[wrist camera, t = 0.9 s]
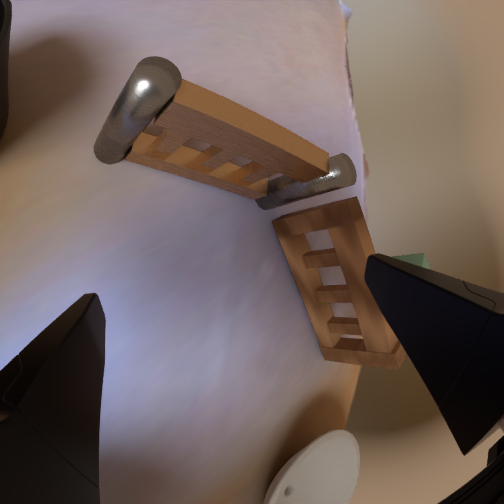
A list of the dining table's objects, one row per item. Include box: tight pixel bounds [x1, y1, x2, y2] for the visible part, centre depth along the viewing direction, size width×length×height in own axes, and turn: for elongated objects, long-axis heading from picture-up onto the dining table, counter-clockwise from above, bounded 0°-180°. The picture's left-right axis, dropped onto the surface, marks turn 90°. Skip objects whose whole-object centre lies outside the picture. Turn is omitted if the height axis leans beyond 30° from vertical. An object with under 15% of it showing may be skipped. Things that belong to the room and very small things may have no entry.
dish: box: [263, 429, 360, 504], centre depth 23 cm, size 18×14×5 cm
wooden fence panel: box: [94, 56, 356, 210], centre depth 20 cm, size 2×17×9 cm, turn 87°
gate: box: [272, 196, 405, 369], centre depth 26 cm, size 15×2×8 cm, turn 31°
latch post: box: [392, 253, 430, 269], centre depth 33 cm, size 2×2×9 cm
